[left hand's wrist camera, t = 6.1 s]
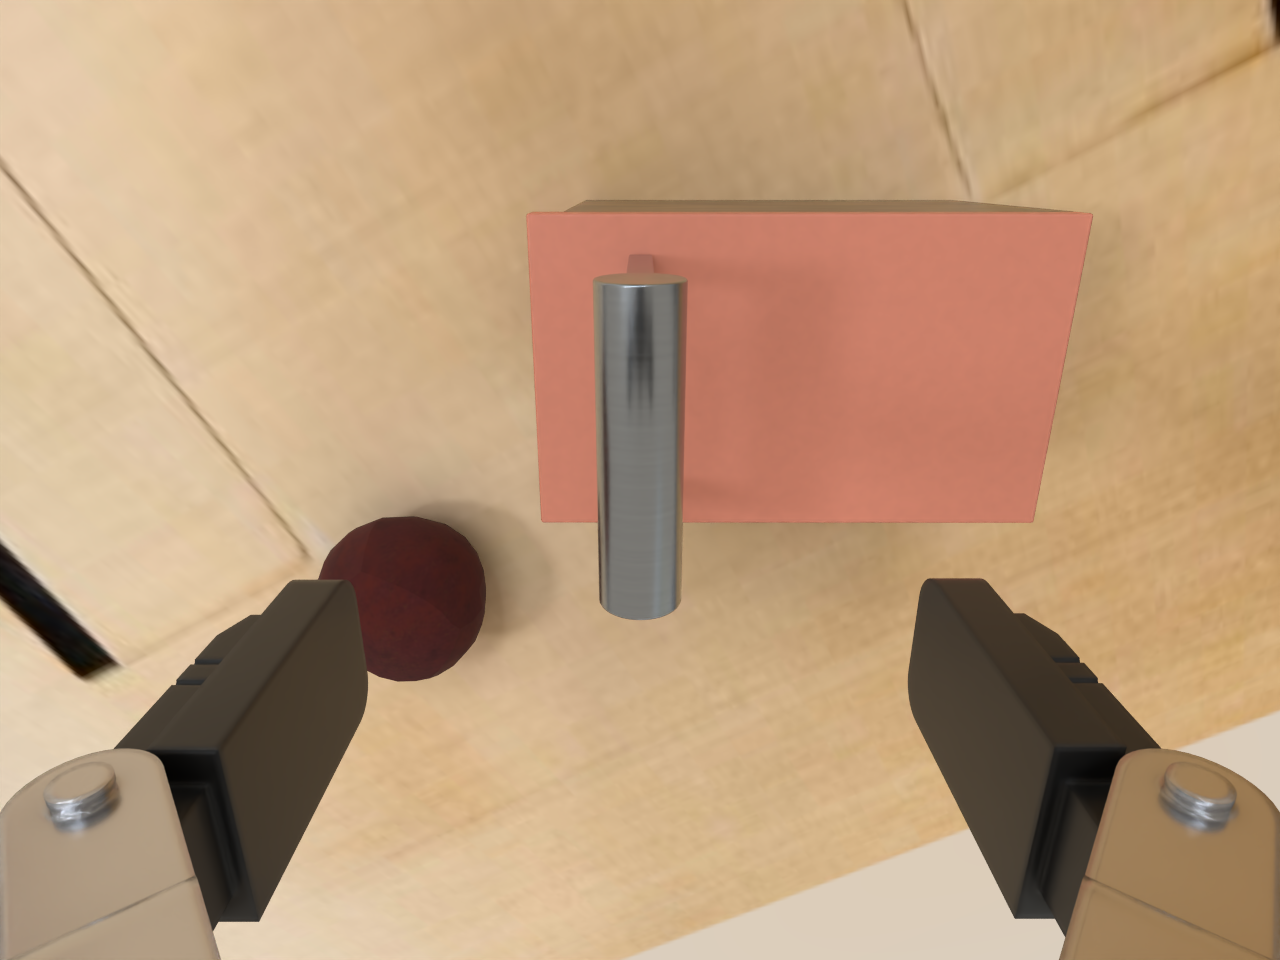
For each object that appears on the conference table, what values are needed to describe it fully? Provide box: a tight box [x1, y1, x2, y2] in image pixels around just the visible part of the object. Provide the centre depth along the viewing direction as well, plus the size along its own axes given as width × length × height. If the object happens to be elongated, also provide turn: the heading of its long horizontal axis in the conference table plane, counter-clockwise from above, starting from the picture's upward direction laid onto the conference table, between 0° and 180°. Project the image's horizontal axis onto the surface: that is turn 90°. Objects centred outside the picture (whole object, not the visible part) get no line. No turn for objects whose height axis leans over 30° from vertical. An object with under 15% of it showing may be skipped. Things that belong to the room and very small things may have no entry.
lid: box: [526, 212, 1093, 620], centre depth 22 cm, size 17×10×9 cm, turn 90°
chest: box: [564, 200, 1072, 212], centre depth 31 cm, size 16×10×10 cm, turn 90°
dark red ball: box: [318, 517, 486, 681], centre depth 37 cm, size 7×8×7 cm
